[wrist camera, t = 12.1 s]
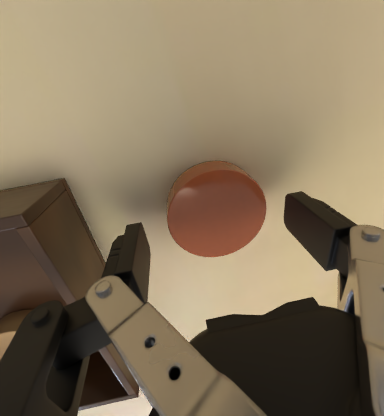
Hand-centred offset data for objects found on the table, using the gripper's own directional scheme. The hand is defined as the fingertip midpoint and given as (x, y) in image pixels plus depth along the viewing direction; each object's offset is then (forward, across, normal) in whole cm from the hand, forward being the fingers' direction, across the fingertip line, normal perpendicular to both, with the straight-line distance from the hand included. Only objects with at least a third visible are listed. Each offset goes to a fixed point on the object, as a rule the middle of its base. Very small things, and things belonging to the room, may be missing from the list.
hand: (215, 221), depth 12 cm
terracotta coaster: (+3, 0, +1) cm, 3 cm away
